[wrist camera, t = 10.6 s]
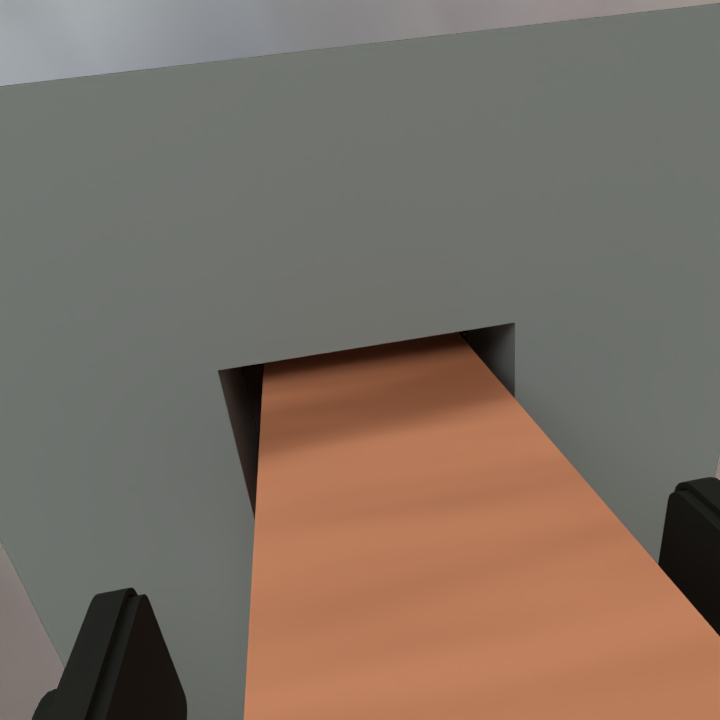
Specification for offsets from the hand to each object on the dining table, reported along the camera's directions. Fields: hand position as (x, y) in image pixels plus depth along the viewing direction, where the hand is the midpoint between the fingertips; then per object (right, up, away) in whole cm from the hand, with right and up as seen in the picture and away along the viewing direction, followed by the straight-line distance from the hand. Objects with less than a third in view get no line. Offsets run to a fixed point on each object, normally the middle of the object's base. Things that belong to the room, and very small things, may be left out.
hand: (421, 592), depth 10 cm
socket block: (-1, +3, +7) cm, 7 cm away
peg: (-1, +3, +7) cm, 7 cm away
